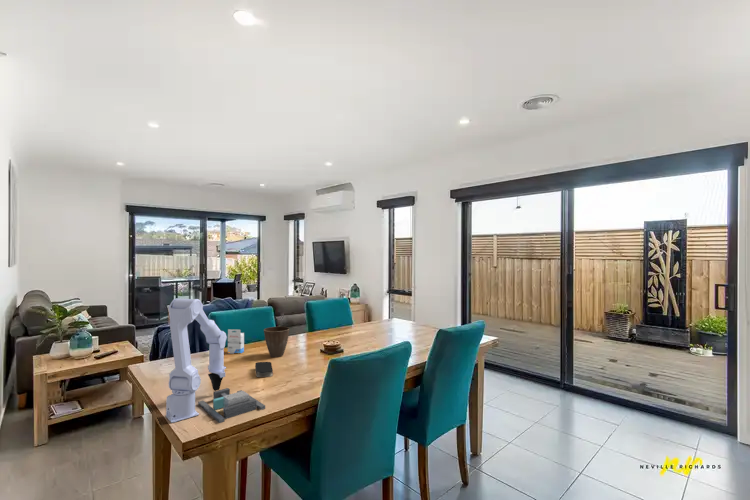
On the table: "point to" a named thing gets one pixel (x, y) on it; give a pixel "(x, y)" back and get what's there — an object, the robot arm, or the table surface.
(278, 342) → the plant pot
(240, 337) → the ink box
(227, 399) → the steel block
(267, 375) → the black sponge
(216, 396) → the sliding jaw
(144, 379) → the table surface
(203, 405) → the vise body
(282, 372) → the table surface
